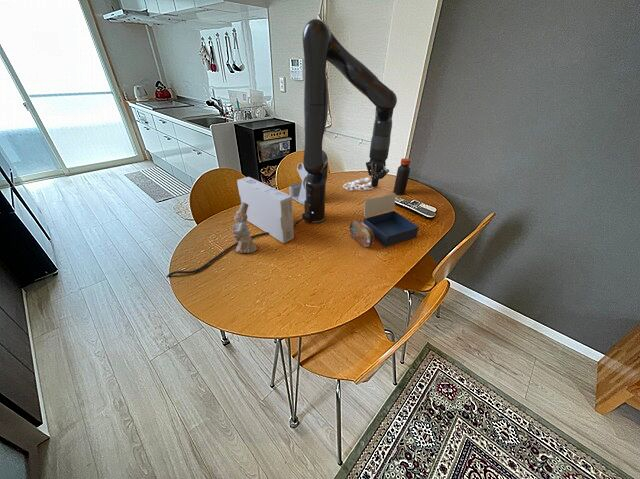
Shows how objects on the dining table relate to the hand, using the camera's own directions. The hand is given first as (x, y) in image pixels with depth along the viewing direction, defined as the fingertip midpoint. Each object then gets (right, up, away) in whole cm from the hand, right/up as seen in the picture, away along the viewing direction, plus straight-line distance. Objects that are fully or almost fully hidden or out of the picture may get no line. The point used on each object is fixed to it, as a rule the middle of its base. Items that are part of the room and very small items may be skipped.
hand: (374, 186), depth 114 cm
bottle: (+24, +4, +41) cm, 47 cm away
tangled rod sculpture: (+1, +8, +46) cm, 47 cm away
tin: (-6, -24, -1) cm, 25 cm away
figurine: (-55, -28, -7) cm, 62 cm away
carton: (+8, -20, +4) cm, 22 cm away
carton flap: (+4, -7, +5) cm, 10 cm away
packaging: (-49, -18, +6) cm, 52 cm away
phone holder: (-33, 0, +32) cm, 46 cm away
